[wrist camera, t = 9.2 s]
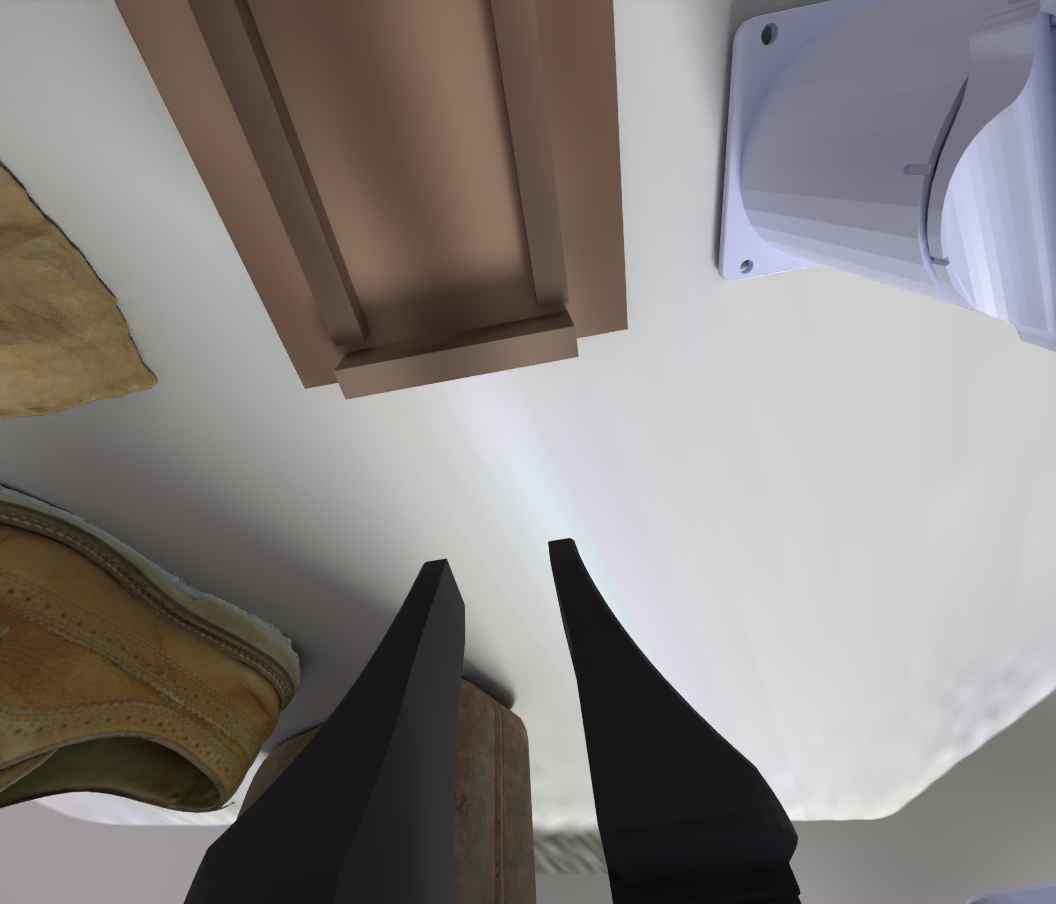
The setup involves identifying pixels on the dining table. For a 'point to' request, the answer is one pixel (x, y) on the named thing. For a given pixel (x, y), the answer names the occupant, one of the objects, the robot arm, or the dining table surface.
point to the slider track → (406, 174)
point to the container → (470, 800)
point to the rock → (55, 319)
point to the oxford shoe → (125, 671)
